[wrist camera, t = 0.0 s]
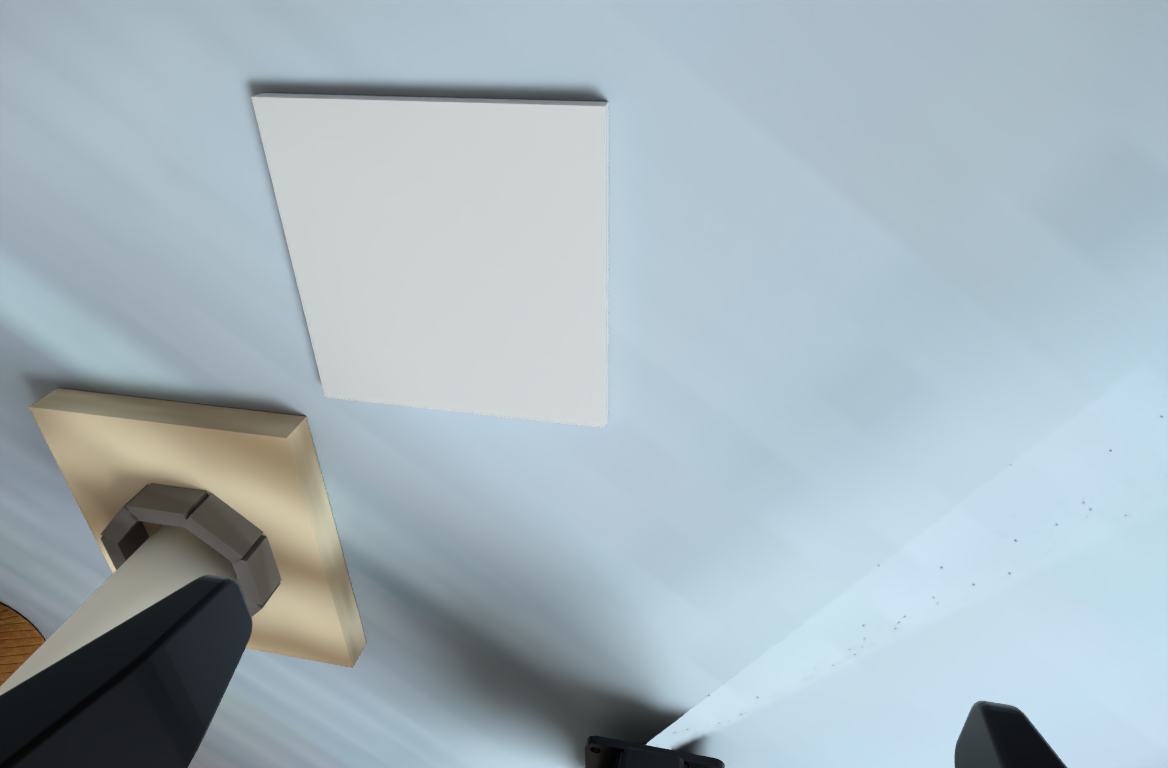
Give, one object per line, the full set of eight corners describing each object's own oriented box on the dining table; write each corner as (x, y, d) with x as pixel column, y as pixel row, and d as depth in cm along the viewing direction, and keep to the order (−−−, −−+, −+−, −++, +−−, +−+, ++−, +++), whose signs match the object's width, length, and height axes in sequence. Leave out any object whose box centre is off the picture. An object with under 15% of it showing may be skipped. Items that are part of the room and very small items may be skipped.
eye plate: (366, 642, 37) (337, 694, 35) (161, 606, 40) (120, 652, 37) (306, 416, 30) (264, 461, 27) (57, 388, 32) (-3, 427, 30)
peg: (253, 584, 34) (44, 856, 24) (178, 572, 35) (-55, 831, 25) (230, 520, 32) (-11, 790, 22) (150, 508, 33) (-117, 764, 23)
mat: (608, 418, 27) (605, 427, 26) (332, 389, 29) (324, 397, 28) (608, 101, 21) (604, 106, 20) (262, 92, 23) (251, 97, 22)
